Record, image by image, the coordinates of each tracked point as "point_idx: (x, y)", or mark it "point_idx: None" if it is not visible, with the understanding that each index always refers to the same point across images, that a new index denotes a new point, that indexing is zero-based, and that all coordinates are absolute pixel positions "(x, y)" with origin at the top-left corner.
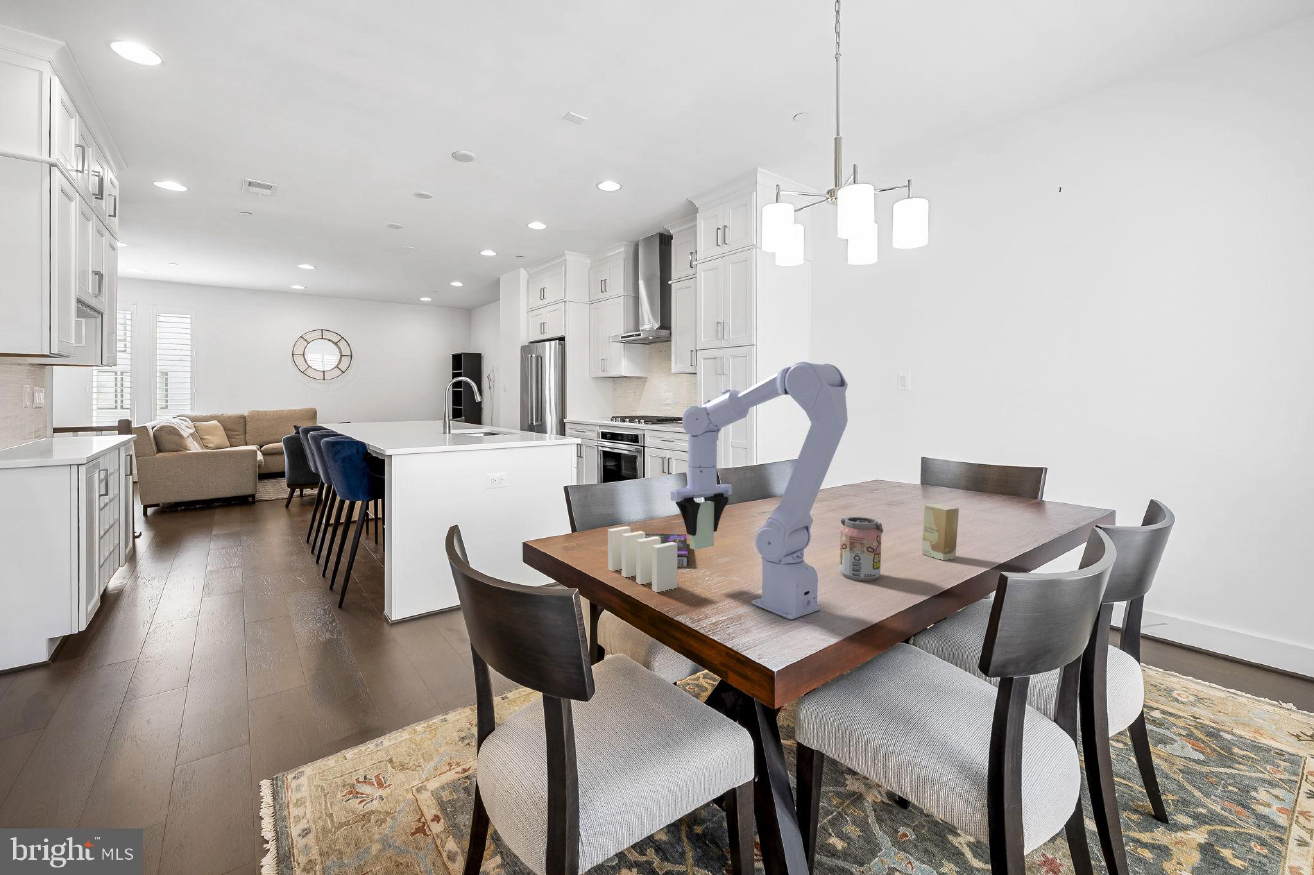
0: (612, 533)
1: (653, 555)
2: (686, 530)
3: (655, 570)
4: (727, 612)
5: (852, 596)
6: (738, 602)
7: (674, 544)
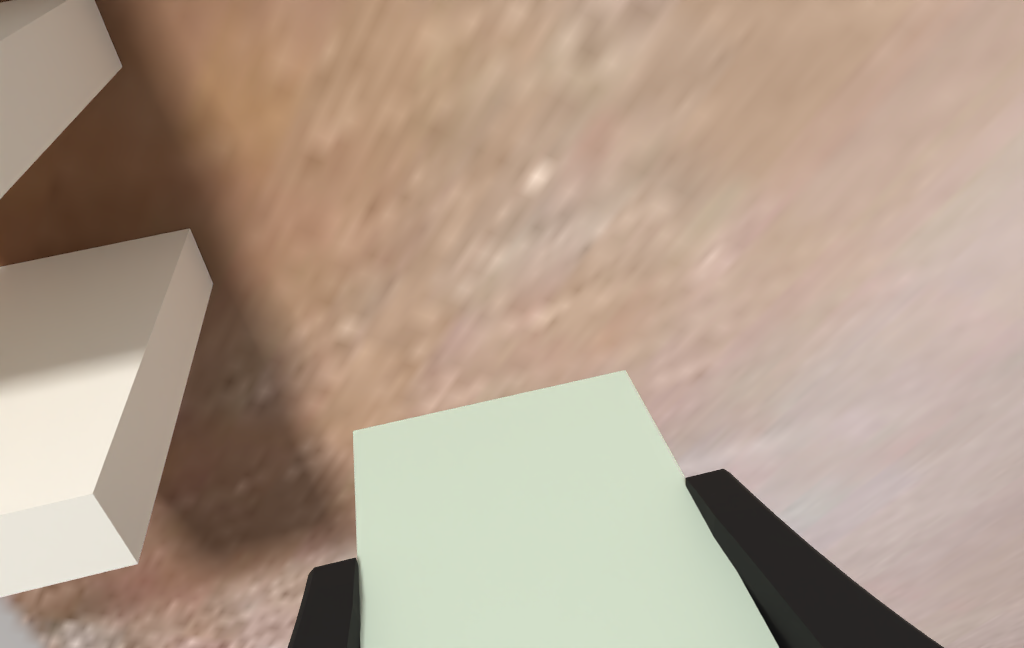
0: None
1: None
2: (299, 613)
3: None
4: None
5: (918, 599)
6: None
7: (94, 570)
